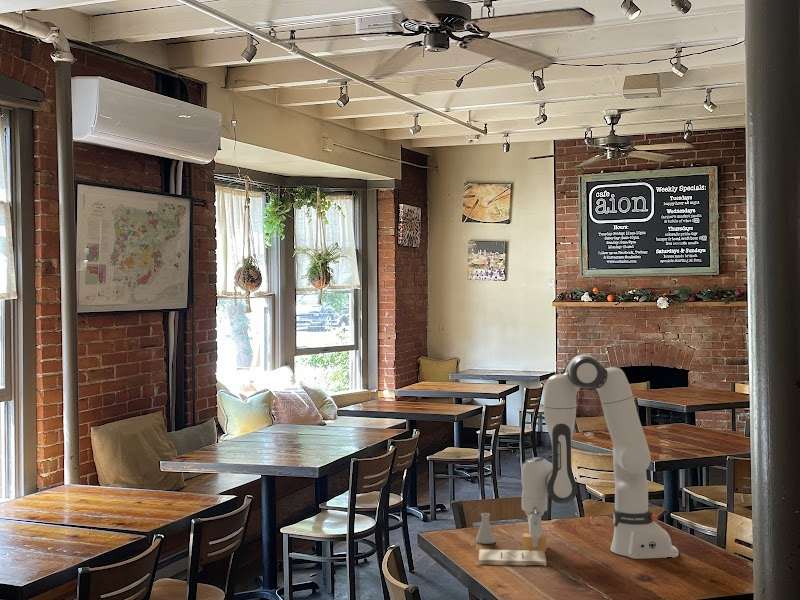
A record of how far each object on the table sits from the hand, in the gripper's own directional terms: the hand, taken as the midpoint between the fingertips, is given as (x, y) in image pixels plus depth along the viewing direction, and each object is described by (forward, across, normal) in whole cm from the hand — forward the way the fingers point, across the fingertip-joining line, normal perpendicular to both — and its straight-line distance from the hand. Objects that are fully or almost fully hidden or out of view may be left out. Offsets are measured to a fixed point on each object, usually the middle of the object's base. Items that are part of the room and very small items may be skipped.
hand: (534, 544), depth 323 cm
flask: (+2, +8, +17) cm, 19 cm away
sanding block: (+2, 0, 0) cm, 2 cm away
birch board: (+2, -13, +8) cm, 15 cm away
